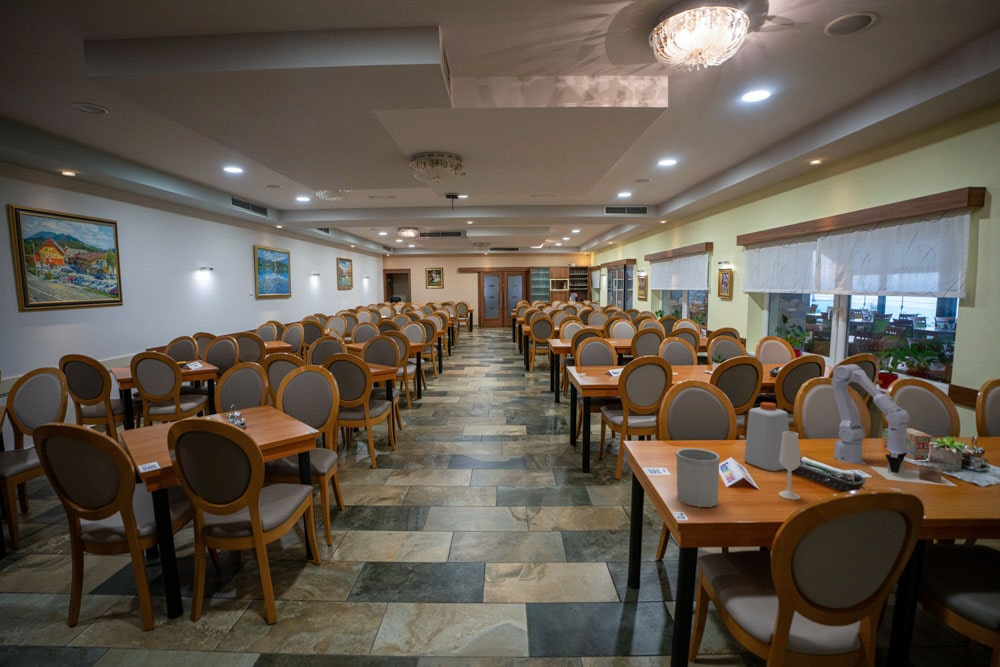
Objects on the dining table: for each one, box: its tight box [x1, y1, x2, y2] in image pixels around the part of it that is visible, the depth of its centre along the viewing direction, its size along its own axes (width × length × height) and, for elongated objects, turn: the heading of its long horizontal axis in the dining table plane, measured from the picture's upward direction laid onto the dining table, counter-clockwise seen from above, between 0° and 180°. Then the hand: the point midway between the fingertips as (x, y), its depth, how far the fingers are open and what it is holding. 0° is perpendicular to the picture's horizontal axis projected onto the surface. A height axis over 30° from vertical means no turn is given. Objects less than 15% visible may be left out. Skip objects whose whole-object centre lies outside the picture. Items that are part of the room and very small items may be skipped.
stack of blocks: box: [883, 427, 933, 460], centre depth 203 cm, size 21×6×12 cm, turn 168°
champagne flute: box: [778, 430, 802, 500], centre depth 161 cm, size 7×7×24 cm
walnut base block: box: [918, 464, 943, 485], centre depth 173 cm, size 6×6×4 cm
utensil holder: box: [675, 447, 721, 508], centre depth 159 cm, size 15×15×18 cm
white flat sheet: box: [869, 466, 958, 487], centre depth 177 cm, size 22×15×1 cm
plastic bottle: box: [744, 401, 790, 472], centre depth 192 cm, size 15×15×28 cm
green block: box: [887, 460, 905, 475], centre depth 180 cm, size 5×5×5 cm
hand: (895, 470), depth 180 cm, fingers open, 6 cm apart
